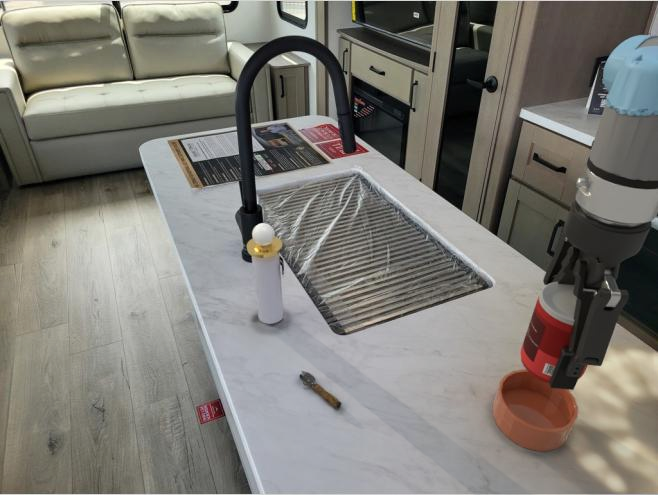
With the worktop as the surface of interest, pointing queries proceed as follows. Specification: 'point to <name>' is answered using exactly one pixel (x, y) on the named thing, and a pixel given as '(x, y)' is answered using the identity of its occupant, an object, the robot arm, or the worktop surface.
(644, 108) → the robot arm
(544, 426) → the bowl
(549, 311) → the canned food
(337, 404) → the can opener
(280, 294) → the perfume bottle
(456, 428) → the worktop surface
